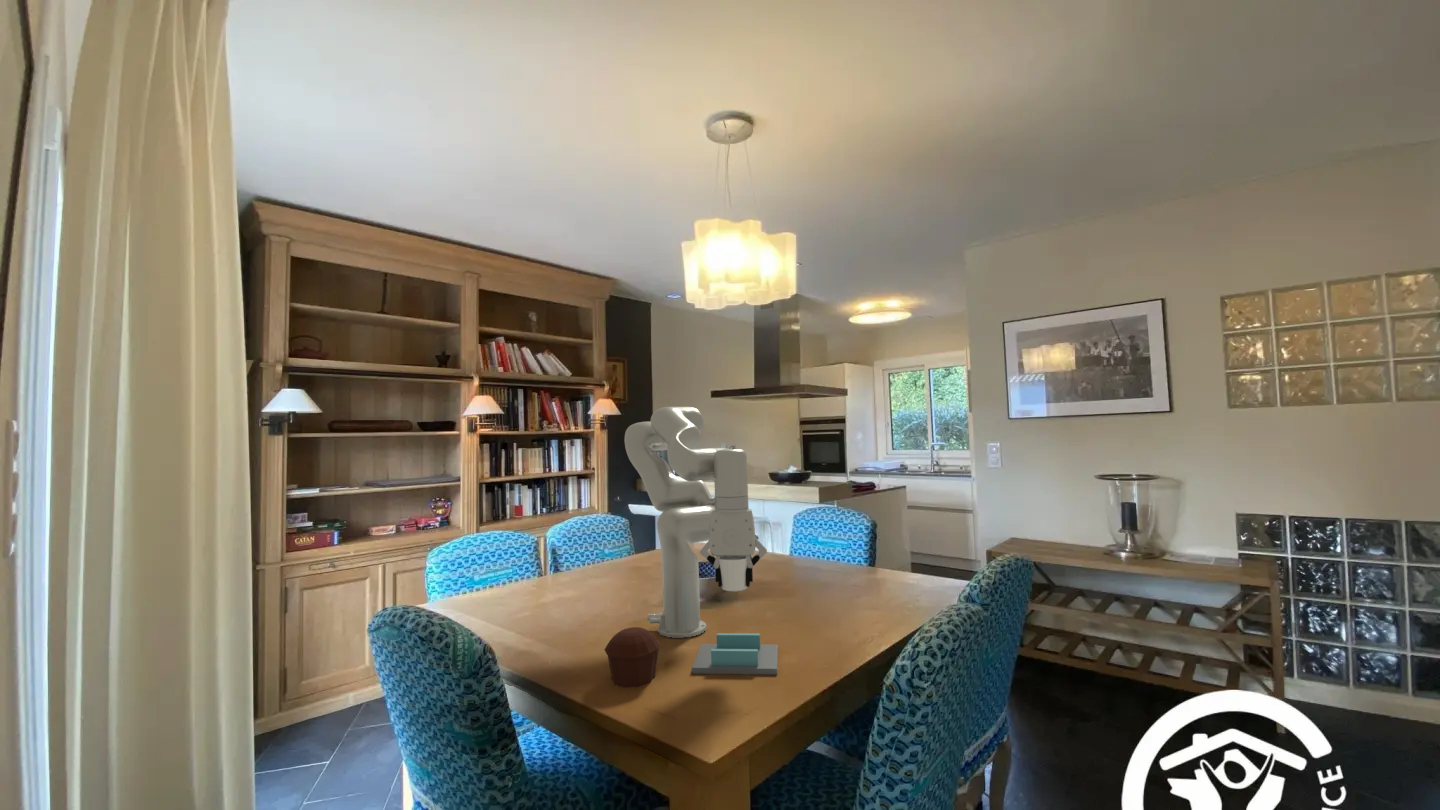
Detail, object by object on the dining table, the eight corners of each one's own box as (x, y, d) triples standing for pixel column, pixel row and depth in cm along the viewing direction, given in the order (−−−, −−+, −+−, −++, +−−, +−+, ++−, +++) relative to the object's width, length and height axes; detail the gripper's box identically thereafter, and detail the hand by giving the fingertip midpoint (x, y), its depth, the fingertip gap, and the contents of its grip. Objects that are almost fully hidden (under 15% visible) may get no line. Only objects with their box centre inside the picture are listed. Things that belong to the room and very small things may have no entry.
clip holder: (692, 673, 123) (691, 653, 123) (701, 649, 137) (701, 631, 137) (777, 674, 121) (776, 654, 121) (778, 649, 135) (777, 631, 135)
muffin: (630, 664, 129) (629, 618, 130) (671, 673, 123) (669, 625, 124) (593, 684, 119) (592, 635, 119) (636, 695, 113) (634, 643, 114)
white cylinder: (750, 591, 126) (749, 559, 126) (719, 592, 126) (718, 560, 126) (749, 583, 133) (748, 552, 133) (719, 584, 133) (718, 553, 133)
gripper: (691, 506, 128) (693, 589, 127) (769, 505, 126) (772, 589, 125) (696, 502, 135) (699, 581, 134) (770, 501, 133) (773, 580, 132)
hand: (734, 584), depth 130 cm, fingers closed on white cylinder, 5 cm apart
